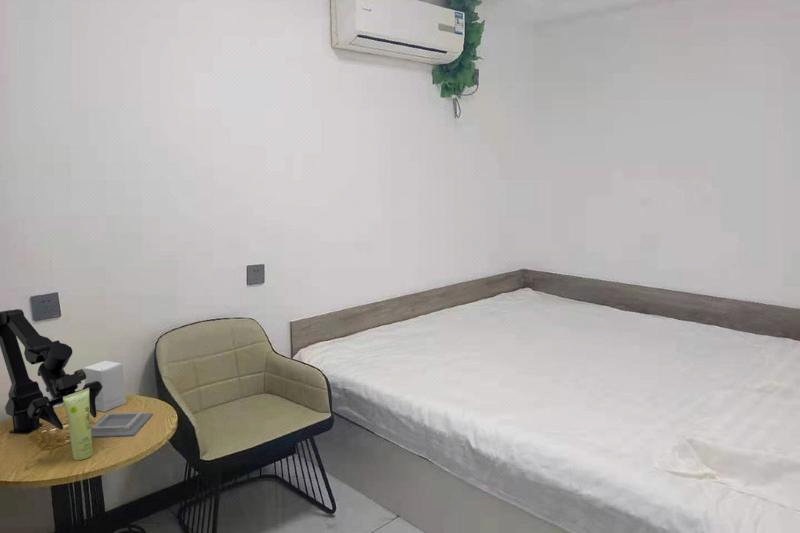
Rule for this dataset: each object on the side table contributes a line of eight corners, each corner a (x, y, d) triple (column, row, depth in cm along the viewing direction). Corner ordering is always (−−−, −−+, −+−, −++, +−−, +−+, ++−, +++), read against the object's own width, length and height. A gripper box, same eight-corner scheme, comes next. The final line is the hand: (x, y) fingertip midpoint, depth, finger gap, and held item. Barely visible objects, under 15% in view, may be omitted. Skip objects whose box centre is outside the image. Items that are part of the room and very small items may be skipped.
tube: (89, 460, 155) (82, 395, 152) (69, 462, 154) (62, 396, 151) (95, 451, 161) (89, 387, 158) (76, 453, 159) (69, 389, 156)
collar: (91, 433, 171) (90, 428, 171) (108, 417, 182) (107, 413, 182) (128, 431, 172) (128, 427, 172) (143, 416, 183) (142, 412, 183)
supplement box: (127, 403, 196) (123, 363, 193) (104, 412, 188) (100, 370, 185) (109, 399, 199) (105, 359, 197) (86, 408, 191) (82, 367, 189)
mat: (80, 438, 169) (80, 436, 169) (104, 416, 185) (104, 414, 184) (133, 436, 170) (133, 434, 170) (152, 414, 186) (152, 413, 186)
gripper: (27, 372, 148) (52, 420, 144) (96, 354, 164) (120, 396, 160) (17, 394, 154) (40, 441, 149) (84, 375, 169) (107, 416, 165)
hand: (79, 422), depth 156 cm, fingers open, 9 cm apart
